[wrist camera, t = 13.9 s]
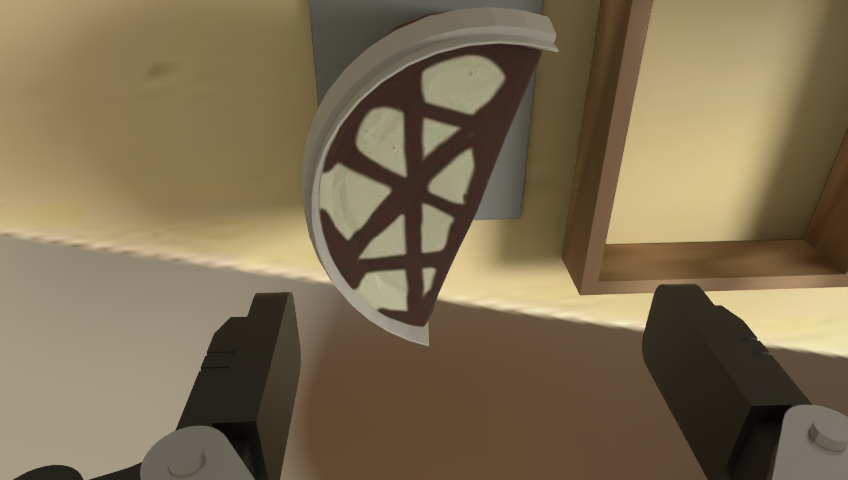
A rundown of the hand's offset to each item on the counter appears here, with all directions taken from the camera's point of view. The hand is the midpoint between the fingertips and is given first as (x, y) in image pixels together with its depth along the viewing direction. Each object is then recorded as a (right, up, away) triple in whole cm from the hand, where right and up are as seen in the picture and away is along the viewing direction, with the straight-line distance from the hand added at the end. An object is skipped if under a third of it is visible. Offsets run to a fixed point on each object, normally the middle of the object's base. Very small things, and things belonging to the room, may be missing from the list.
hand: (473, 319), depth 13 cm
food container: (-3, +8, +14) cm, 17 cm away
